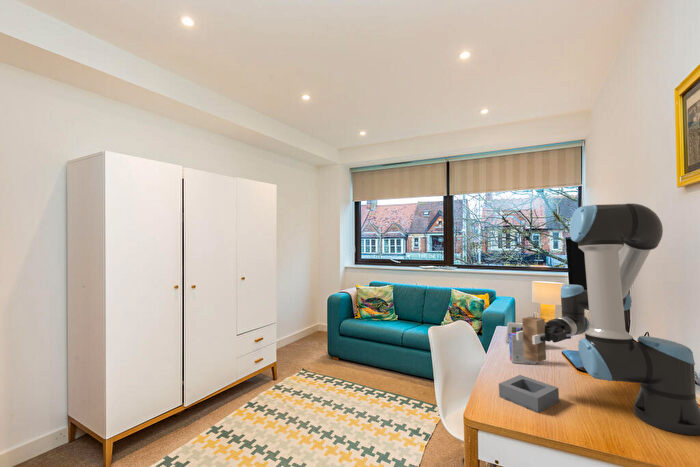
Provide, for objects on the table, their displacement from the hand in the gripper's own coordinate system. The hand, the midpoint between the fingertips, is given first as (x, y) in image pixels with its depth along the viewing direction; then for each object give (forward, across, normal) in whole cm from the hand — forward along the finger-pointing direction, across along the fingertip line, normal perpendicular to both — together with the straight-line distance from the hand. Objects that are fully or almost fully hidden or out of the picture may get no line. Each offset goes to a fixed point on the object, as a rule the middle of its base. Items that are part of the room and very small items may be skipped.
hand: (525, 338), depth 111 cm
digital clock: (-53, +33, -20) cm, 65 cm away
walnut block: (-5, 0, -8) cm, 10 cm away
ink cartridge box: (-31, +20, -20) cm, 42 cm away
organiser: (+1, -1, -20) cm, 20 cm away
